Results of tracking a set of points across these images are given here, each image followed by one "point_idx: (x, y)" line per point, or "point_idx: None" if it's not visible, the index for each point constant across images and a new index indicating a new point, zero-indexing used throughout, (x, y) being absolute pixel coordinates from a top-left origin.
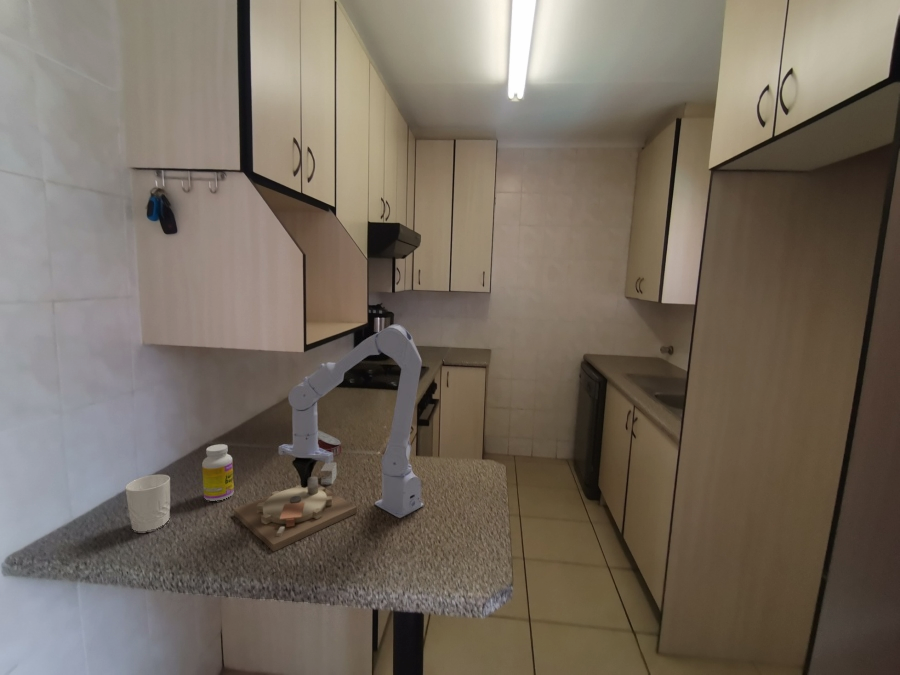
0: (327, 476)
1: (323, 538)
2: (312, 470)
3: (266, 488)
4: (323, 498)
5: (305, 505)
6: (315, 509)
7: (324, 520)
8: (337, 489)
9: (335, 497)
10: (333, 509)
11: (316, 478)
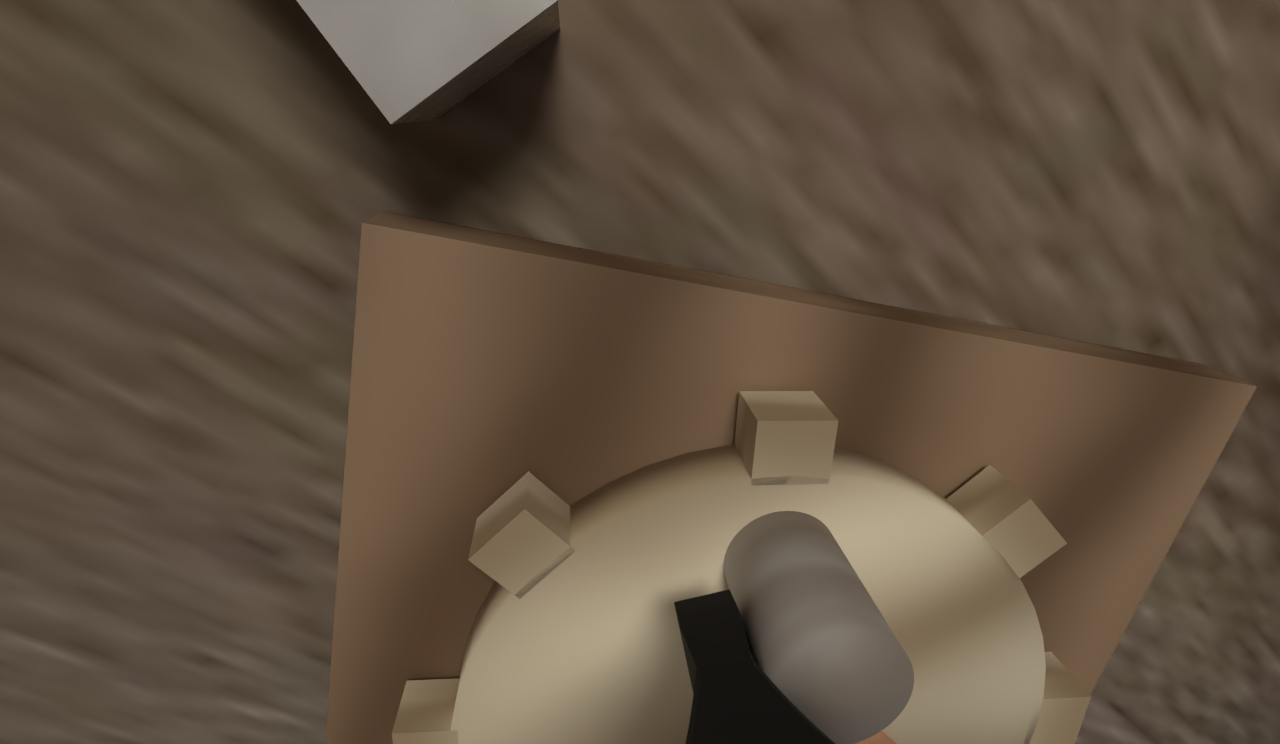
0: (497, 58)
1: (1126, 700)
2: (806, 721)
3: (11, 535)
4: (976, 577)
5: (903, 734)
6: (1034, 724)
7: (1093, 665)
8: (725, 103)
9: (952, 374)
10: (1070, 533)
11: (890, 662)
